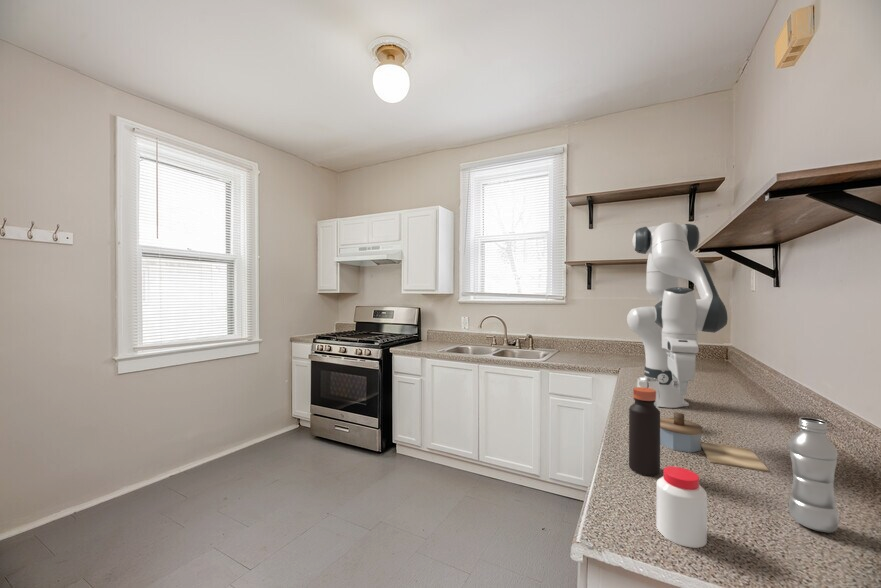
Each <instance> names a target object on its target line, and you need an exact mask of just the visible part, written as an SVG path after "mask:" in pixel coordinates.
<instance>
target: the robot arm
mask: <svg viewBox="0 0 881 588" xmlns="http://www.w3.org/2000/svg"><path fill="white" fill-rule="evenodd" d="M700 241H701V232H700V229H699V228H698V226H697V225H695V224H693V223H685V224H682V223H681V224H679V223H676V222H672V221H670V222H663V223H661V224H660V225H652V226H642V227H639V228H637V229H636V230H635V232H634V234H633V236H632V240H631V242H632V246H633V248H634V251H635V252H636V253H637V254H641V255H646V254H648V256H647V262H646V279H645V281H646V282H645V284H646V285H645V290H646V292H647V293H648V294H649V295H650V296H652V297H654V298H656V299H657V300H658V302H657V304H655V305H654V306H647V305H646V306H639V307H635V308H631V309H630V310H629V312H628V313H627V316H626V323H627V326H628V328H629V329H630V330H631V331H632V332H633V333H635V334H636V335H637V336H638V337H639V338H640V340H641V342H642V344H643V347H644V353H645V355H644V357H645V366H644V370H643V372H644V373H643V374H644V377H650V378H656V379H658V380H659V385H660V399H659V404H658V408H659V407H661V408H669V409H671V408H672V409H674V408H682V407H689V406H690V404H689V402H687V401H686V400H685V397H684V396H687V394H688V391H687V390H688V387H689V382H693V381H694V378H695V374H696V363H697V361H696V359H697V355H696V354H699V345H698V344H699V339H698V338H699V336H698V335H699V334H698V333H699V332H705V333H712V334H713V333H714V334H715V333H716V332H719V331H720V330H722V329H724V328H725V327H726V325H728V318H729V316H728V315H729V313H728V311H727V308H726V305H725V304H724V302H723V301H722V299H721V297H720V295H719V293H718V291H717V288H716V286H715V284H714V281H713V279H712V276H711V274H710V272H709V269H708V267H707V266H706V264H705V262H704V261H703V260H702V259H700V258H698V257H696V255H694V254H693V253H692V252H693V251H694V250H697V248H698V246H699V244H700ZM679 278H680V279H684V280H688V281H690V282H692V283H693V284H694V285H695V288H696V290H697V292H698V296H699V297H700V298H698V299H697V297H696V293H695V290H694V289H692V288H689V287H679Z"/></svg>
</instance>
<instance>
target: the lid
mask: <svg viewBox="0 0 881 588" xmlns="http://www.w3.org/2000/svg"><path fill="white" fill-rule="evenodd" d="M660 428H662V429H664V430H667V431H670V432H674V433H679V434H687V435H696V434H701V435H702V433H703V427H702V425H700V424H698V423H696V422H694V421H690V420H687V419H685V413H682V412H677V411H676V412H673V417H660Z"/></svg>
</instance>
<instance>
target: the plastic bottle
mask: <svg viewBox="0 0 881 588" xmlns="http://www.w3.org/2000/svg"><path fill="white" fill-rule="evenodd" d="M827 422H828V421H825V420H822V419H820V418H819V419H818V418H814V417H806V416H800V417H799V419H798V427H797V428H799V429H800V430H798V431H797V432H796V433H794V434H793V435H792V436H791V437H790V438H789V441H788V443H787V444H788V451H789V456H790V462H791V468H792V486H791V494H790V497H789V502H788V509H789V514H790V515H791V517H792V518H793V520H794V521H796V522H797V524H799V525H801V526H804V527H805V528H808V529H810V530H814V531H817V532H820V533H826V534H827V533H828V534H829V533H834V532H835V531H837V530H838V528H839V524H840V517H839V511H838V508H837V506H836V505H837V504H836V498H835V490H834V487H835V486H834V485H835V483H834V482H835V473H836V469H837V464H838V463H837V462H838V454H839V453H838V450H837V448H836V446H835V445H834V444H833V442H832V441H831V440H830V439H829V438H828V436H826V434H828V433H829V432H828V431H829V430H828V423H827Z"/></svg>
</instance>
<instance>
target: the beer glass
mask: <svg viewBox="0 0 881 588" xmlns="http://www.w3.org/2000/svg"><path fill="white" fill-rule="evenodd" d="M636 379H637V381H636V387H644V388H650V389H653V390H655V391H656V400H655V401H656V402H654V405H655V407H656V408H657V409H658V410H659V406H658V404H659V399H660V385H659V380H658V379H656V378H650V377H645V376H638V377H637V378H636Z"/></svg>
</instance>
